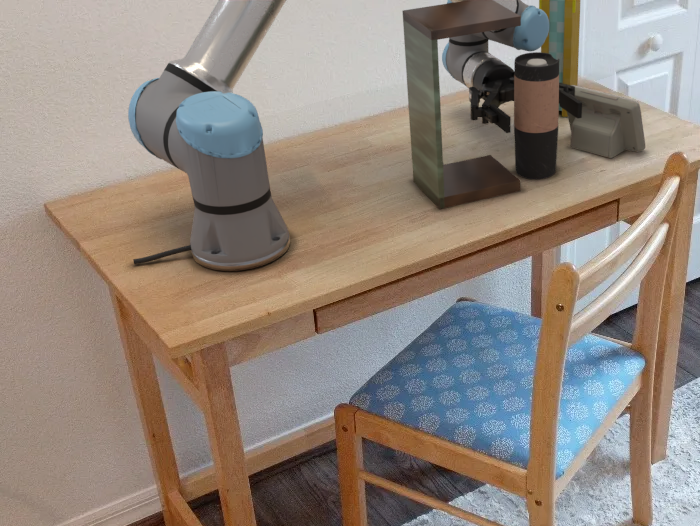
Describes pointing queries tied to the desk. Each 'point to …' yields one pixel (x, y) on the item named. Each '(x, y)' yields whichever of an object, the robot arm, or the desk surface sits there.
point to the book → (563, 38)
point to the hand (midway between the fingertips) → (544, 117)
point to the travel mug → (536, 114)
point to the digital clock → (606, 124)
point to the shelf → (424, 103)
